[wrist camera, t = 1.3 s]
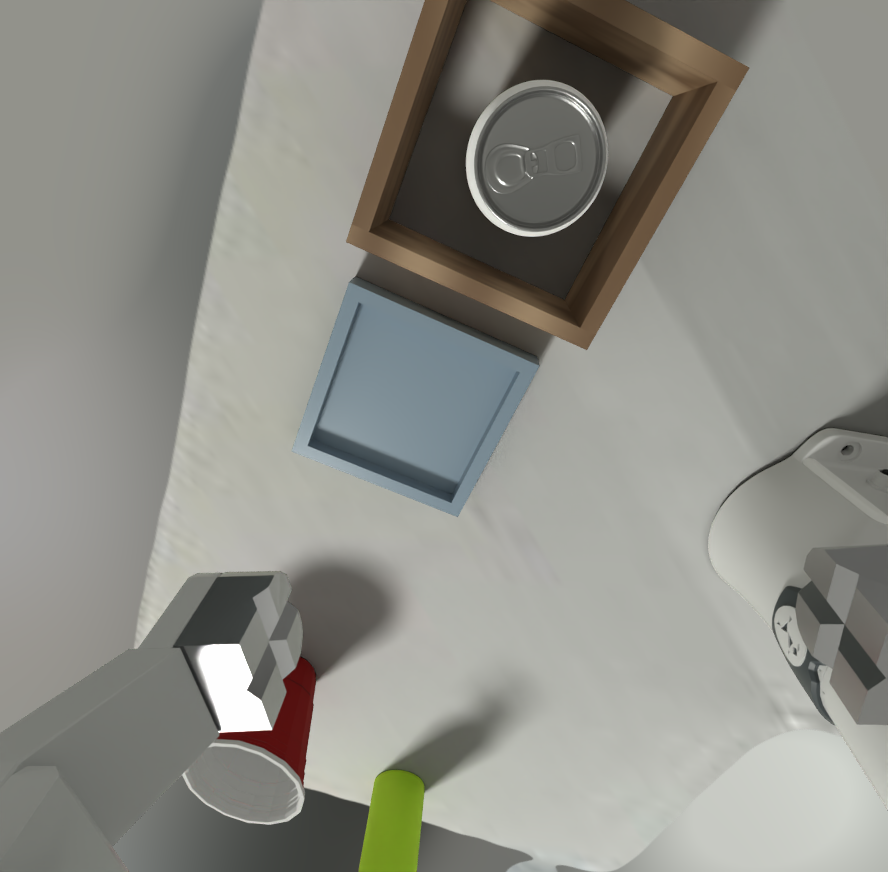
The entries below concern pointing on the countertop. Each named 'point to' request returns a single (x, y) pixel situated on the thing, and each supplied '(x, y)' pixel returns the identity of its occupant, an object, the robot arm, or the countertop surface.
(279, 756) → the plastic cup
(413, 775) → the soap dispenser
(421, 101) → the walnut sleeve
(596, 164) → the can
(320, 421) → the tray
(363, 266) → the countertop surface
